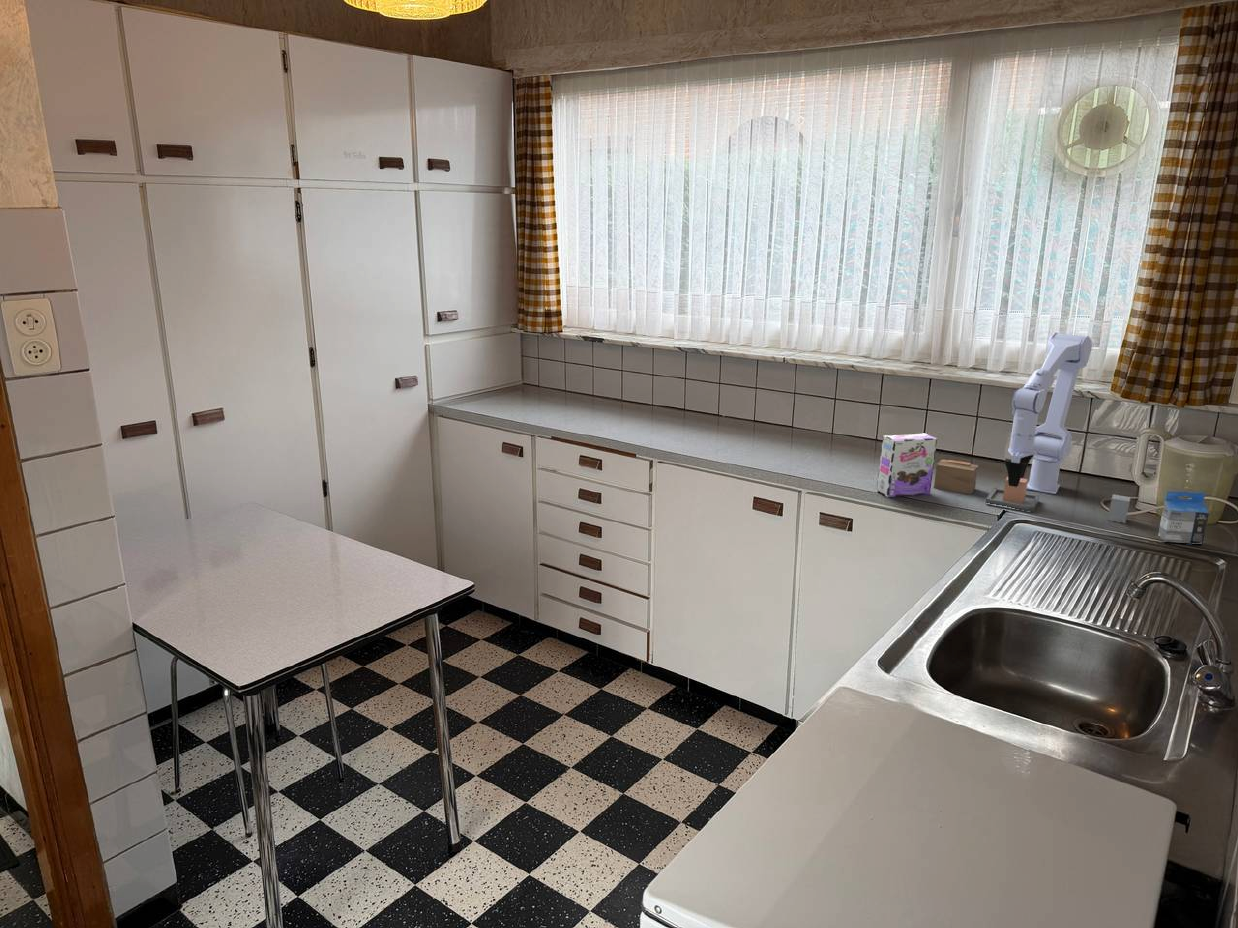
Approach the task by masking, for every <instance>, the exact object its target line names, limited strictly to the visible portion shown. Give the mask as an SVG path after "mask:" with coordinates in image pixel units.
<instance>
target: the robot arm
mask: <svg viewBox="0 0 1238 928" xmlns="http://www.w3.org/2000/svg"><path fill="white" fill-rule="evenodd" d="M1092 348H1093V341H1092V338H1091V337H1090V336H1089V335H1085V336H1084V335H1075V334H1066V333H1059V332H1053V333H1052V334H1050V337H1049V338H1048V341H1047V347H1046V349H1047V356H1046V358H1045V360H1044V362H1043V363H1042V366H1041V368H1039V369H1038V368H1037V369H1035V370H1034V371H1033V372H1032V374H1031V375H1030V377H1029V378H1028V380H1027V381H1026V383H1025V384H1024V386H1023V387H1022V388H1019V389H1016V390H1015V392H1014V393H1013V397H1012V399H1011V406H1012V412H1011V413H1012V416H1013V422H1012V428H1011V434H1010V441H1009V445H1008V446H1009V447H1008V449H1007V452H1008V453H1009V455H1010V457H1011V458H1005V459H1004V465H1005V466H1006V471H1007V477H1008V483H1009V486H1014V487H1017V486H1018V484H1019V482H1020V479H1021V478H1024V476H1025V474H1026V473H1025V472H1026V471H1027V468H1028V465H1029V463H1030V462H1031V460H1032V463H1031V469H1030V475H1029V479H1028V483H1027V489H1026V490H1031V491H1035V492H1041V493H1047V494H1053V495H1056V494H1057V493H1058V490H1059V489H1060V486H1061V484H1060V483H1058V480H1059V475H1060V469H1061V463H1062V461H1063V462H1064V461H1065V460H1067V458H1068V457H1069V455H1070V453H1071V448H1072V445H1071V444H1072V439H1073V435H1072V434H1071V433H1070V431H1068V429H1067V428H1066V427H1065V423H1066V419H1067V416H1068V412H1069V409H1070V404H1071V401H1072V398H1073V393H1074V390H1075V388H1076V387H1075V386H1076V383H1077V379H1078V375H1079V373H1080V370H1081V369H1084V368H1086V367H1087V365H1088V363H1089V360H1090V357H1091V353H1092V352H1091V351H1092V350H1093V349H1092ZM1058 370H1059V371H1058ZM1057 372H1058V373H1057ZM1056 373H1057V377H1056V378H1055V374H1056ZM1055 379H1056V381H1055ZM1054 383H1055V385H1054ZM1053 385H1054V388H1053V392H1052V396H1051V399H1050V404H1049V407H1048V410H1047V413H1046V415H1047V416H1046V419H1045V422H1044V423H1043V424H1040V425H1038V426H1037V424H1038V419H1039V413H1041V411H1042V409H1043V408H1044V405H1045V401H1046V400H1047V394H1048V392H1049V391H1050V390H1051V387H1052V386H1053ZM1047 434H1048V435H1047ZM1051 435H1053V436H1051ZM1056 436H1057V437H1056Z"/></svg>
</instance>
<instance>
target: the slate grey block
mask: <svg viewBox="0 0 1238 928" xmlns="http://www.w3.org/2000/svg"><path fill="white" fill-rule="evenodd" d="M1130 501H1131V497H1130V496H1126V495H1125V496H1124V495H1119V494H1112V497H1111V500H1110V506H1109V511H1108V516H1107V521H1109V520H1110V521H1109V522H1114V521H1116V522H1115V523H1120V522H1123V523H1122V524H1126V521H1127V518H1128V517H1127V516H1128V510H1129V506H1130Z"/></svg>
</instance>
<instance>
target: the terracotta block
mask: <svg viewBox="0 0 1238 928" xmlns="http://www.w3.org/2000/svg"><path fill="white" fill-rule="evenodd" d="M1028 482H1029V479H1028V478H1024V477H1023V478H1021V479H1020V482H1019V484H1018V486H1017V487H1014V486H1009V483H1008V476H1007V477H1006V478H1005V481H1004V487H1003V488H1004V489H1003V490H1004V493H1003V500H1002V501H1008V502H1013V503H1019V504H1023V502H1024V500H1025V495H1026V494H1027V490H1028V489H1027V484H1028Z"/></svg>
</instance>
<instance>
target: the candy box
mask: <svg viewBox="0 0 1238 928" xmlns="http://www.w3.org/2000/svg"><path fill="white" fill-rule="evenodd" d="M937 442H938V438H937V437H935V436H932V435H930V434H928V433H924V432H923V433H914V434H893V435H891V434H890V435H886V434H885V435H883V436H882V442H881V450H880V458H879V467H878V474H877V475H878V476H877V481H876V488H875V489H876V490H877V492H878V491H879V492H880V494H881V495H883V496H885V497H886V498H894V497H907V496H906V495H912V496H923V495H922V494H926V495H931V488H932V480H933V475H934V474H933V472H934V465H935V459H936V458H935V457H936V450H937ZM879 492H878V493H879Z"/></svg>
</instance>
